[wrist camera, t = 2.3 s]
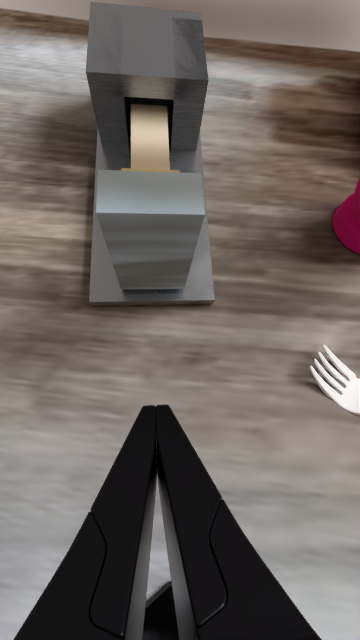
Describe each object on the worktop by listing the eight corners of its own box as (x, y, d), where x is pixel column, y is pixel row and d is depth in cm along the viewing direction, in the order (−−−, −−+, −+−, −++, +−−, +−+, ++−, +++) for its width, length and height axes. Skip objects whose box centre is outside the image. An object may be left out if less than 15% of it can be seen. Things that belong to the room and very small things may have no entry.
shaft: (184, 289, 21) (205, 214, 12) (121, 290, 21) (95, 212, 12) (175, 141, 25) (186, 6, 16) (123, 139, 25) (105, -2, 16)
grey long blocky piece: (212, 304, 22) (236, 265, 16) (92, 306, 21) (63, 265, 15) (194, 98, 29) (206, 9, 22) (101, 92, 28) (84, -3, 21)
